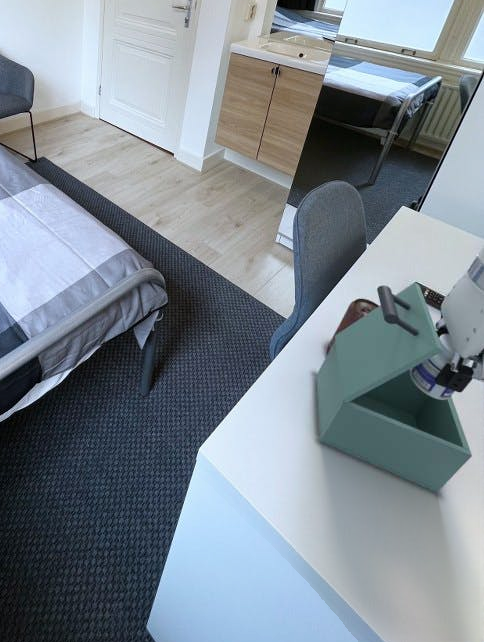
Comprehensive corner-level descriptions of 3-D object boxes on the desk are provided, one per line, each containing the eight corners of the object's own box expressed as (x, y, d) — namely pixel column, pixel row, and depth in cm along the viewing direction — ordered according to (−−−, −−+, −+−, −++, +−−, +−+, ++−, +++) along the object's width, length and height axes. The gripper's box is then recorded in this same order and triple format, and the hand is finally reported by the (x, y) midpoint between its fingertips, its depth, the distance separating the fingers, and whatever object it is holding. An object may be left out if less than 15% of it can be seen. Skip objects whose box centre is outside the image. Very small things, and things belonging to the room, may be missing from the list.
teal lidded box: (416, 416, 75) (445, 378, 70) (436, 493, 65) (472, 456, 60) (315, 376, 80) (335, 338, 75) (319, 441, 70) (343, 403, 65)
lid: (419, 285, 65) (386, 264, 66) (443, 351, 55) (404, 325, 56) (338, 338, 75) (310, 319, 76) (346, 403, 64) (313, 380, 65)
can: (324, 361, 83) (350, 313, 77) (328, 339, 88) (353, 291, 81) (358, 379, 80) (389, 330, 74) (361, 355, 85) (389, 307, 78)
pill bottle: (444, 376, 66) (473, 339, 62) (454, 407, 62) (486, 369, 57) (405, 361, 68) (431, 324, 63) (412, 390, 63) (440, 352, 59)
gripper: (582, 345, 46) (494, 436, 55) (513, 249, 60) (452, 334, 69) (498, 319, 48) (426, 410, 57) (451, 233, 63) (399, 316, 71)
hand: (441, 367), depth 63 cm, fingers closed on pill bottle, 5 cm apart
